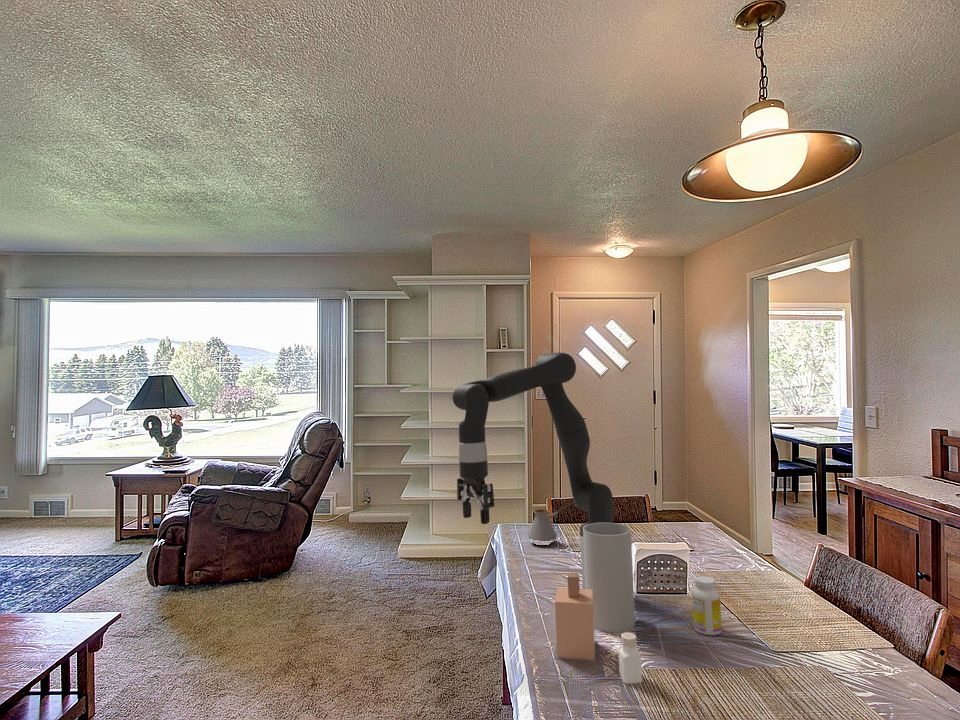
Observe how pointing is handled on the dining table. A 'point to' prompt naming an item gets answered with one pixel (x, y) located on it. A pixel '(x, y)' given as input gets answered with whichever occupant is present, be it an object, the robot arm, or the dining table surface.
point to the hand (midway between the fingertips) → (476, 520)
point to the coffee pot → (544, 525)
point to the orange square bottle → (575, 621)
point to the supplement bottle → (706, 607)
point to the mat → (580, 659)
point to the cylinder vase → (610, 575)
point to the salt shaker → (629, 659)
